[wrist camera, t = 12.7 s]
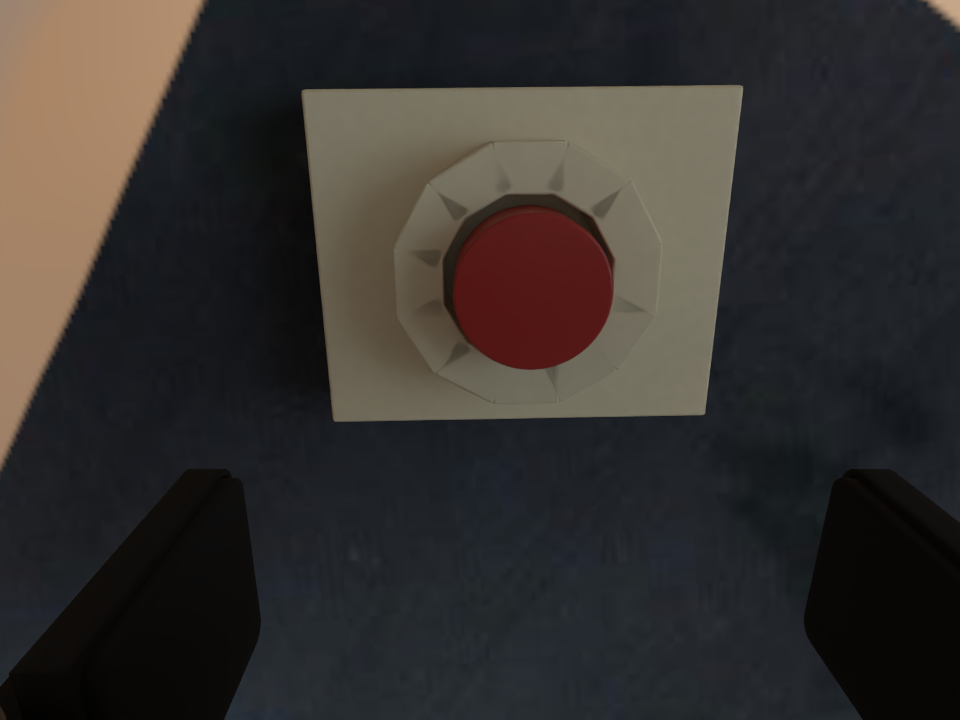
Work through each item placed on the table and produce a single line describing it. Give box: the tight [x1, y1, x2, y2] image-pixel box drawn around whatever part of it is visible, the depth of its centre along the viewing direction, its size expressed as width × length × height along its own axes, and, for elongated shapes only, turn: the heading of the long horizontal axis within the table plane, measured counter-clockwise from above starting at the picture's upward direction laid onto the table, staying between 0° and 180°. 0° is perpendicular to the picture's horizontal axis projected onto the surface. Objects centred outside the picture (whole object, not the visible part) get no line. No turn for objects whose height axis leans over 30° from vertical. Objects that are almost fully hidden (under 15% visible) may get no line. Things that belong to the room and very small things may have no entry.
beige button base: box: [302, 85, 743, 422], centre depth 17 cm, size 11×9×4 cm
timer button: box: [453, 205, 614, 370], centre depth 15 cm, size 4×4×2 cm
